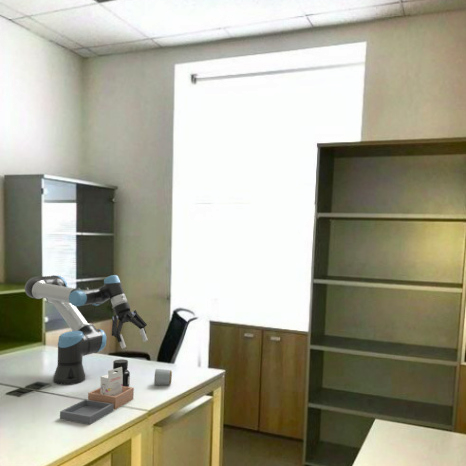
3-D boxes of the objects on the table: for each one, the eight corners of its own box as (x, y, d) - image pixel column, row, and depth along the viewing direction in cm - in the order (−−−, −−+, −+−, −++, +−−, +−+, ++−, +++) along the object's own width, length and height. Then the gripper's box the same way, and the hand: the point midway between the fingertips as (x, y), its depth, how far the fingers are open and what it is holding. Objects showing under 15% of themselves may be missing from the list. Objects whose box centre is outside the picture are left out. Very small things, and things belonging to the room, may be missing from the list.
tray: (59, 419, 174) (60, 411, 174) (84, 406, 188) (85, 399, 188) (89, 424, 169) (90, 416, 169) (113, 411, 183) (113, 403, 184)
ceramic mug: (171, 387, 216) (171, 370, 216) (153, 387, 215) (154, 371, 215) (172, 380, 226) (172, 365, 227) (155, 381, 226) (156, 365, 226)
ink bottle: (133, 386, 216) (134, 361, 216) (117, 390, 209) (118, 364, 209) (122, 382, 222) (122, 357, 223) (106, 385, 216) (107, 360, 216)
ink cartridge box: (114, 398, 199) (115, 364, 199) (122, 400, 196) (123, 366, 197) (99, 403, 191) (100, 369, 192) (107, 406, 189) (108, 371, 189)
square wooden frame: (87, 405, 190) (88, 393, 190) (107, 395, 202) (107, 383, 203) (115, 409, 185) (115, 397, 185) (133, 399, 198) (133, 387, 198)
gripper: (103, 306, 215) (118, 348, 209) (143, 297, 234) (158, 335, 229) (95, 312, 219) (110, 353, 213) (136, 303, 238) (150, 340, 233)
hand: (135, 344), depth 221 cm, fingers open, 13 cm apart
